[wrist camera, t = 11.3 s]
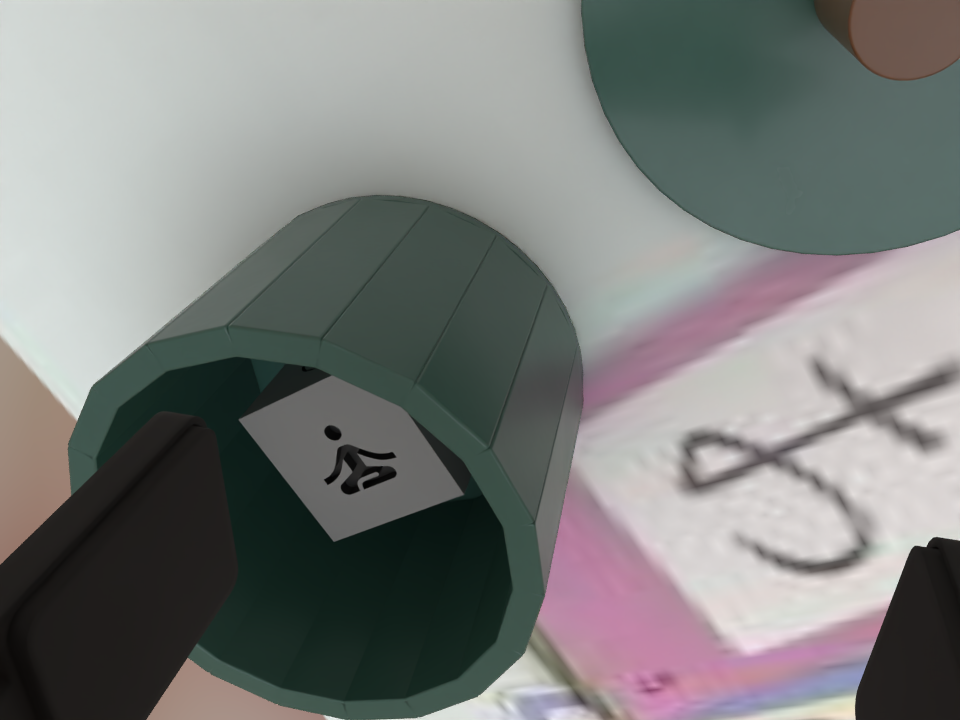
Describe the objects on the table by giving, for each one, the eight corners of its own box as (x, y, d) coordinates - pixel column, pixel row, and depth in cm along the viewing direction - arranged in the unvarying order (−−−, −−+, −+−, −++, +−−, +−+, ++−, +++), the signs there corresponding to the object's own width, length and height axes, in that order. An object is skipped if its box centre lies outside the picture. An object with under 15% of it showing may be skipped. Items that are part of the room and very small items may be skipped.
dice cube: (382, 451, 31) (333, 541, 26) (304, 341, 29) (238, 419, 25) (497, 404, 28) (464, 494, 24) (419, 283, 27) (369, 357, 23)
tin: (213, 176, 27) (12, 297, 19) (604, 216, 25) (566, 371, 17) (253, 482, 33) (115, 671, 25) (569, 535, 31) (528, 760, 23)
